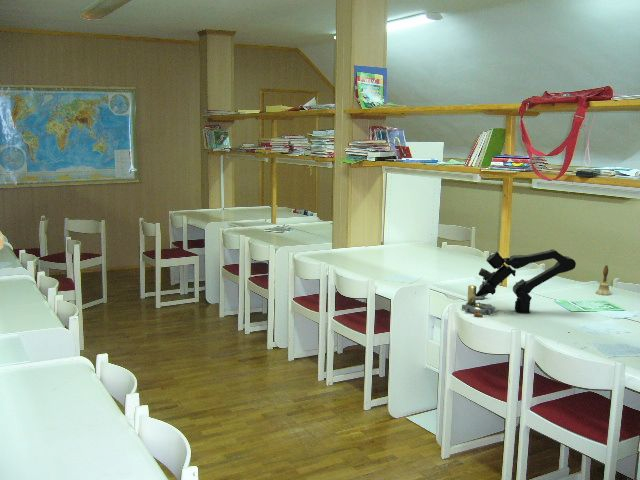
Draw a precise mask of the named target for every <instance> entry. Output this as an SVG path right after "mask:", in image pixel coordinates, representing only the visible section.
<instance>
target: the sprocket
mask: <svg viewBox="0 0 640 480" xmlns="http://www.w3.org/2000/svg"><path fill="white" fill-rule="evenodd" d="M476 293H477V285H470V284H469V285H468V286H467V299H466V300H467V302H466V303H465V304H461V310H464V312H465V313H472V314H477V313H480V314H483V315H484V314H485V315H491V313H495V312H496V307H495V306H492V304H490V303H487V304H486V303H483V302H482V303H481V302H479V301H478V302H477V301H476V300H477V299H476Z"/></svg>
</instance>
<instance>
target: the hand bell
mask: <svg viewBox="0 0 640 480" xmlns="http://www.w3.org/2000/svg"><path fill="white" fill-rule="evenodd" d="M602 272H603V279H602V282H601V283H599V286H598V289H597V290H596V291H595V294H597V295H601V296H611V295H612V292H611V291H610V285H609V284H608V283H607V278H608V275H609V266H608V264H607V265H604V268H603V270H602Z"/></svg>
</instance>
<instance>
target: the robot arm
mask: <svg viewBox="0 0 640 480" xmlns="http://www.w3.org/2000/svg"><path fill="white" fill-rule="evenodd" d="M553 259H554V260H556V261H557V262H556V263H555V264H554V265H553V266H552V267H549V268H548V269H546V270H544V271H542V272H541V273H539V274H537V275H536V276H534V277H532V278H530V279H528V280H524V279H523V278H521V279H520V280H519V281H517V282H515V284H514V285H513V286H512V292H513V294H515V296H516V300H515V301H514V311H515V312H516V313H519V314H520V313H523V314H530V313H531V311H530V308H531V302H532V301H531V300H532V296H531V295H530V293H531V292H532V291H533V289H535V288H536V287H537V286H540V285H542V284H543V283H545V282H547V281H548V280H550V279H552V278H554V277H556V276H558V275H560V274H564V273H567V272H568V273H569V272H570V271H573V270H575V268H576V265H577V263H576V260H575V259H574V258H572V257H570V256H565V255H562V254H561V253H560V252H558V251H557V250H555V249H549V250H545V251H540V252H536V253H531V254H513V255H511V256H509V257H504V258H503V257H502V256H501V254H500V253H499V252H498V251H495V252H493V253H492V254H490V255H488V257H487V258H486V262H487V264H489V266H491V267H492V269H493V270H495V269H496V270H495V271H492V272H490V271H489V270H487V269H486V268H483V267H481V268H480V269H479V272H478V276H480V277H482V280H481V281H482V283H481V284H482V287H481V288H480V289H479V288H478V291H476V296H477V297H478V296H482V295H485V294H488V295H489V294H491V295H492V296H494V294H495V293H496V291H497V290H496V289H497V286H499V285H501V284H503V282H504V281H505V280H506V279H507V278H509V276H510V275H512V276H513V277H516V272H517V270H518V269H521V268H523V267H525V266H528V265H530V264H535V263H538V262H544V261H547V260H553ZM512 268H513V269H512Z"/></svg>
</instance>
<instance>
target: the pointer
mask: <svg viewBox="0 0 640 480" xmlns="http://www.w3.org/2000/svg"><path fill="white" fill-rule="evenodd" d="M473 317H474V318H480V319H481V318H484V314H480V313H477V314H476V313H473Z"/></svg>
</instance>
